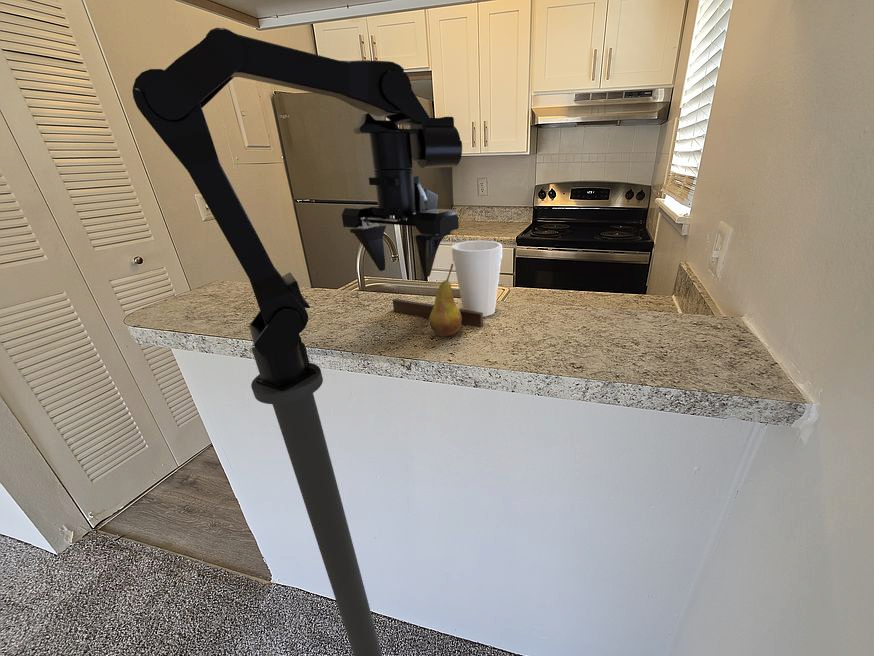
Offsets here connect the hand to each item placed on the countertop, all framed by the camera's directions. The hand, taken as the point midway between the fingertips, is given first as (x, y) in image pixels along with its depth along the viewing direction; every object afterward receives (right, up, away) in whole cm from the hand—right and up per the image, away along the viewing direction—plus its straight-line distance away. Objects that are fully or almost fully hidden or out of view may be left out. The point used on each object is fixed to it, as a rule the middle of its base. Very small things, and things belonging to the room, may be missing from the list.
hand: (404, 273), depth 67 cm
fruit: (+7, -10, +5) cm, 13 cm away
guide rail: (+4, -6, +12) cm, 14 cm away
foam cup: (+12, -5, +14) cm, 20 cm away
